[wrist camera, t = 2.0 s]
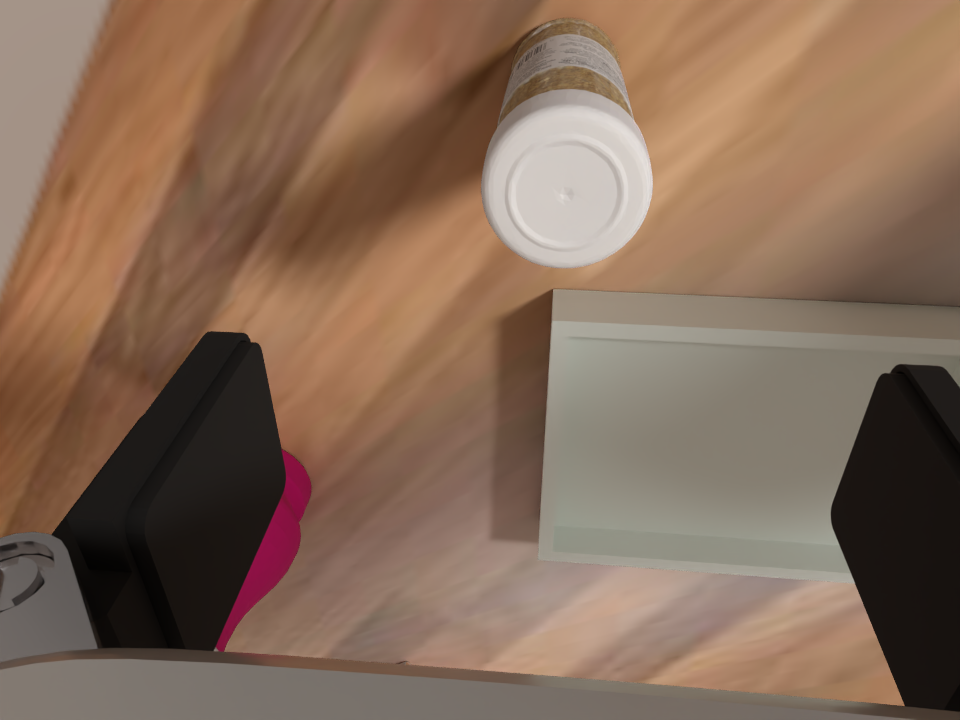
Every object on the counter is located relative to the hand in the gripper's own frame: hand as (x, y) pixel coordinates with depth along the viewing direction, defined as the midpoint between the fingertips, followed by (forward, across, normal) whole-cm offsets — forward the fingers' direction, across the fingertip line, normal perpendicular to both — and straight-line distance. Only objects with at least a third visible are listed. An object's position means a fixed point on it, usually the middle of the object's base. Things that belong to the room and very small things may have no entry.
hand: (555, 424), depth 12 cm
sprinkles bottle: (+23, 0, 0) cm, 23 cm away
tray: (+23, -10, +18) cm, 31 cm away
